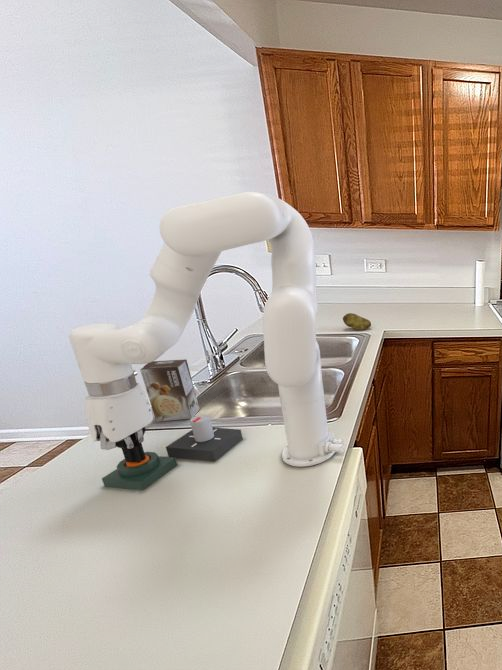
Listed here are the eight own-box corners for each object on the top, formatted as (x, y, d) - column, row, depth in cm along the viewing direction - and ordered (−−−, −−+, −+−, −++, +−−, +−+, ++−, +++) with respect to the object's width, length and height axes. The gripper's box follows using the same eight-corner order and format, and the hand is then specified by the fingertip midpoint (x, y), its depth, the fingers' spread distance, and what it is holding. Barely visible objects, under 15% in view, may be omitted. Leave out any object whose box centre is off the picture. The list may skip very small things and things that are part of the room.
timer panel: (243, 439, 104) (240, 428, 102) (215, 462, 94) (212, 450, 93) (200, 435, 105) (197, 425, 103) (168, 457, 95) (165, 446, 94)
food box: (200, 408, 118) (188, 358, 112) (192, 419, 112) (179, 366, 107) (164, 411, 116) (150, 360, 110) (154, 422, 110) (138, 369, 104)
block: (177, 465, 93) (173, 450, 91) (143, 490, 84) (138, 475, 83) (142, 462, 93) (137, 447, 92) (104, 487, 85) (98, 471, 83)
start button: (155, 462, 90) (153, 455, 89) (139, 473, 86) (137, 466, 85) (139, 460, 90) (137, 454, 89) (122, 471, 86) (120, 464, 86)
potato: (366, 332, 195) (364, 316, 192) (341, 330, 196) (340, 314, 193) (372, 327, 202) (371, 312, 199) (349, 326, 204) (347, 310, 201)
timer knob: (203, 433, 100) (197, 412, 98) (218, 434, 100) (213, 413, 98) (191, 441, 97) (185, 420, 95) (206, 442, 96) (201, 421, 94)
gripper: (129, 369, 88) (150, 440, 94) (55, 399, 74) (85, 480, 81) (160, 372, 87) (179, 443, 94) (91, 402, 73) (119, 483, 80)
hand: (136, 460), depth 87 cm, fingers closed
